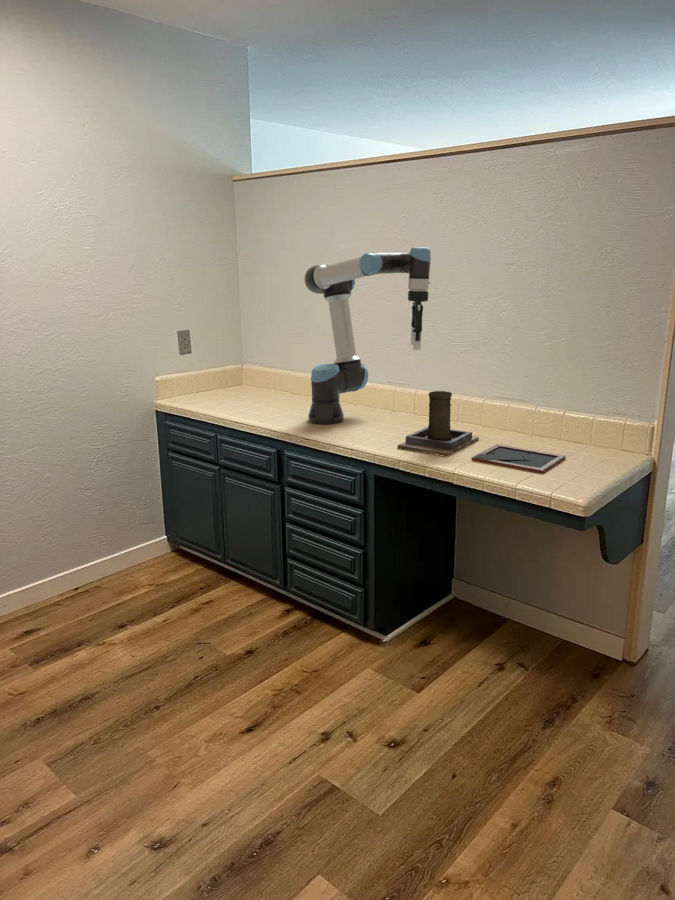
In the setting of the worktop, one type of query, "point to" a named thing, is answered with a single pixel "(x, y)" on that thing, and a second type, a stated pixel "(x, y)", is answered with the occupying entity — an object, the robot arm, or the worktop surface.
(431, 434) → the container
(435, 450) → the holder
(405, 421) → the worktop surface
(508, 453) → the picture frame
